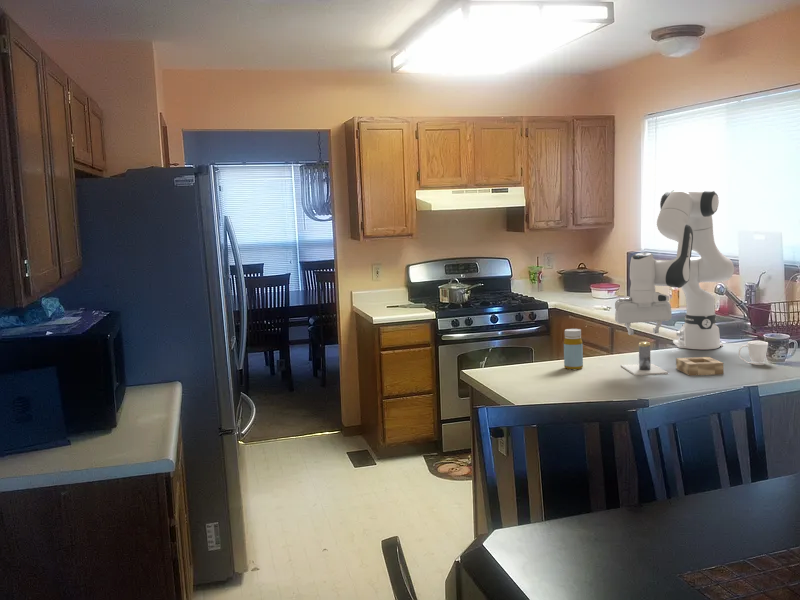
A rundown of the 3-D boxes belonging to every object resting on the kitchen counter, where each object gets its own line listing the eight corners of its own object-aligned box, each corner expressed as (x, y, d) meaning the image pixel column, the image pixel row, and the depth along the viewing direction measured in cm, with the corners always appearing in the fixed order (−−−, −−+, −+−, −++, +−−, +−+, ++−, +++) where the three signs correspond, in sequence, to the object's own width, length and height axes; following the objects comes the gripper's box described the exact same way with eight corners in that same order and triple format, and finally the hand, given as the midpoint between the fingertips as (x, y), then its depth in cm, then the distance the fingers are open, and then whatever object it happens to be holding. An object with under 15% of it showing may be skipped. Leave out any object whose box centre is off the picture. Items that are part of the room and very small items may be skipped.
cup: (770, 365, 248) (770, 344, 248) (740, 365, 251) (740, 344, 250) (765, 361, 255) (766, 340, 254) (736, 361, 258) (736, 340, 257)
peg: (639, 367, 252) (639, 341, 251) (651, 367, 251) (650, 341, 249) (638, 370, 249) (638, 343, 247) (650, 370, 247) (649, 344, 245)
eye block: (676, 368, 251) (676, 358, 250) (708, 367, 251) (708, 356, 250) (689, 375, 239) (689, 364, 238) (723, 374, 239) (723, 363, 238)
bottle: (581, 366, 264) (580, 328, 262) (584, 369, 257) (583, 331, 255) (563, 366, 264) (562, 328, 263) (565, 370, 258) (564, 331, 256)
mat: (621, 366, 259) (621, 365, 259) (652, 365, 259) (652, 363, 259) (634, 375, 243) (634, 373, 243) (668, 374, 243) (668, 372, 243)
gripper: (617, 299, 245) (618, 337, 247) (673, 296, 246) (673, 333, 247) (611, 297, 251) (612, 334, 253) (665, 294, 252) (666, 330, 254)
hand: (643, 333), depth 250 cm, fingers open, 8 cm apart
